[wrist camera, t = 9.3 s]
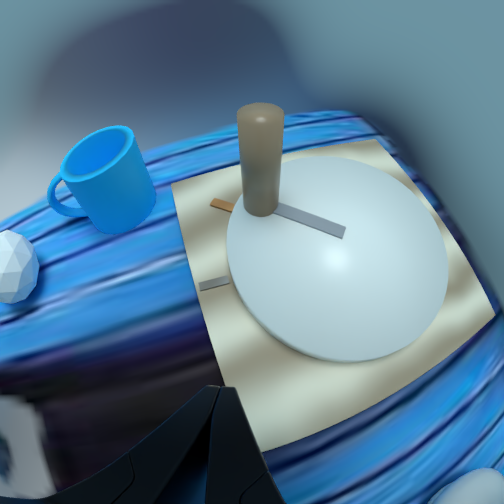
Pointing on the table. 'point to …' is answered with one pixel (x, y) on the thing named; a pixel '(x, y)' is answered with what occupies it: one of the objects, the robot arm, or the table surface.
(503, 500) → the flower vase
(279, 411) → the dial board
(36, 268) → the ball
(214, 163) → the table surface
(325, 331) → the dial
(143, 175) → the mug
